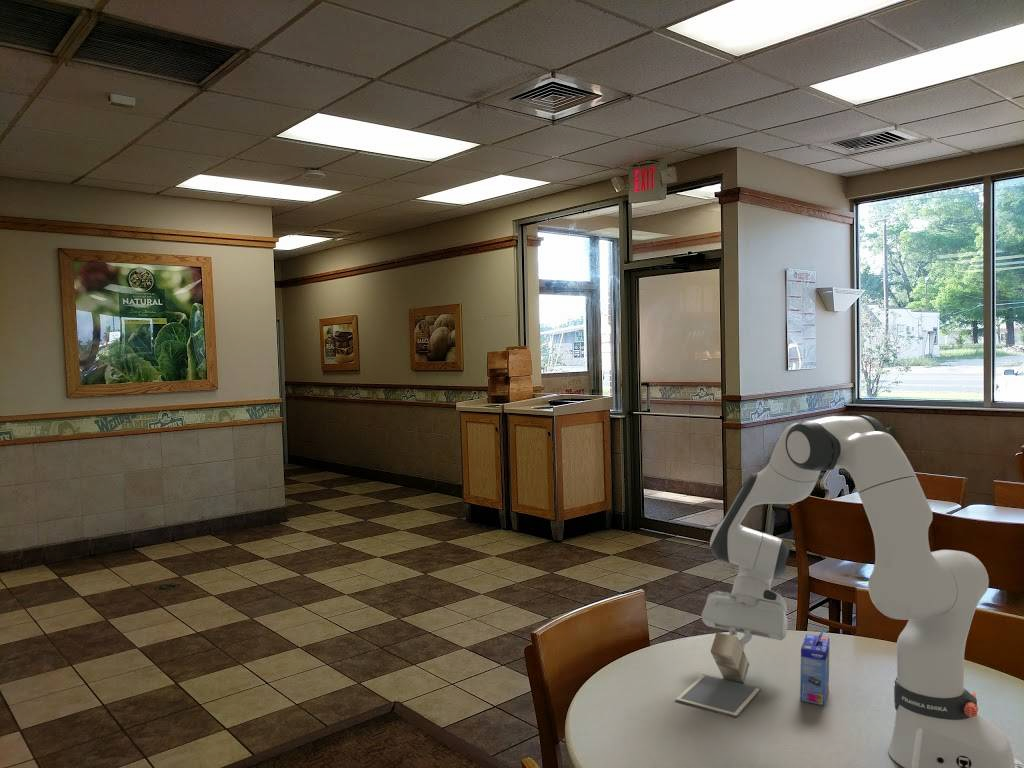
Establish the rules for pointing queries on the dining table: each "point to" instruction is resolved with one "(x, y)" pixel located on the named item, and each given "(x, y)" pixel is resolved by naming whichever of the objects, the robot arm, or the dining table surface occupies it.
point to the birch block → (730, 657)
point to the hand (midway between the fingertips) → (736, 647)
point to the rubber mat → (718, 695)
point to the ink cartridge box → (814, 669)
